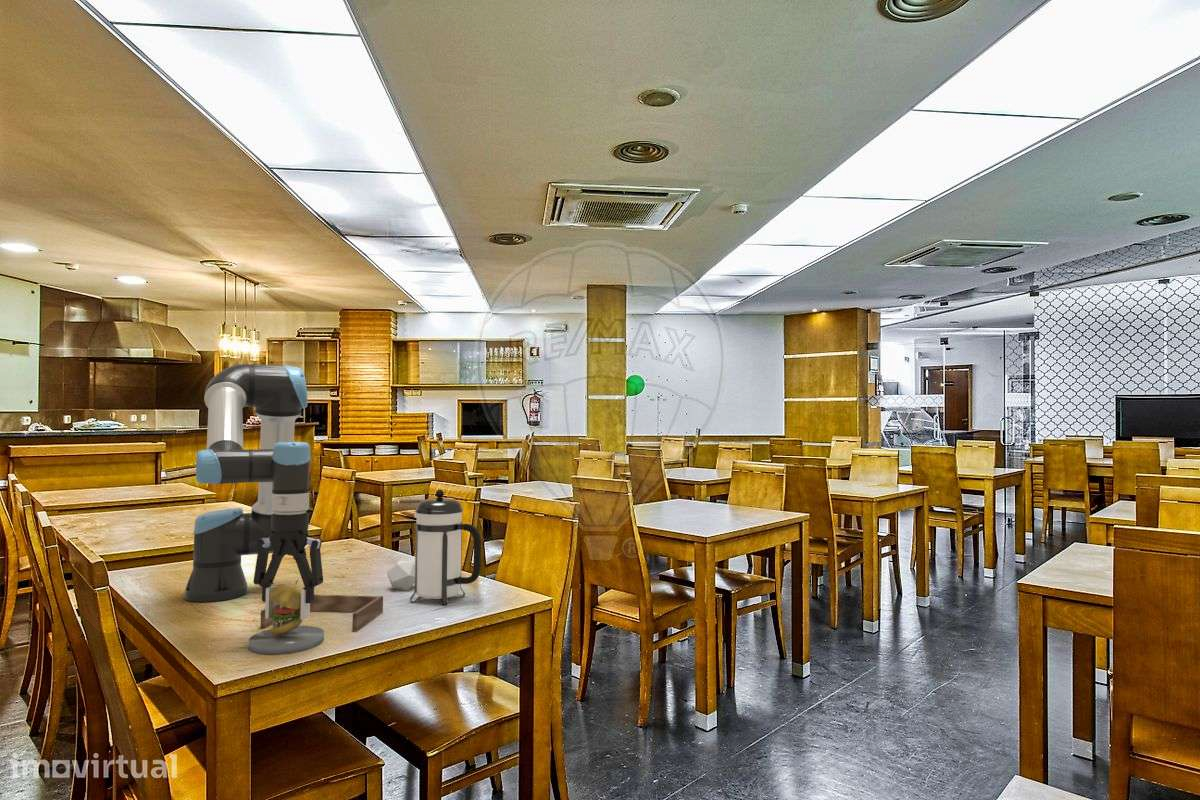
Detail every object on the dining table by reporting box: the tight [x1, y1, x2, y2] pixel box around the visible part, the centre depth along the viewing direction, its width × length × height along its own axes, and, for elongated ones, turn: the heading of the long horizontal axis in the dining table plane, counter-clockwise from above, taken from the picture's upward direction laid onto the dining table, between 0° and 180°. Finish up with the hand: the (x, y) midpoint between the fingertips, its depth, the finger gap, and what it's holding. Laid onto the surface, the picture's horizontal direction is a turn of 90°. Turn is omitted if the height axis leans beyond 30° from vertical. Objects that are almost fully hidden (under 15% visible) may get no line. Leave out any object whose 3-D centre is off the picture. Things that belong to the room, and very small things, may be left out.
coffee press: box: [409, 489, 482, 607], centre depth 187 cm, size 17×16×30 cm
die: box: [386, 560, 415, 591], centre depth 198 cm, size 8×9×10 cm
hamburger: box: [270, 579, 303, 635], centre depth 149 cm, size 8×7×12 cm
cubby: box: [259, 593, 384, 632], centre depth 166 cm, size 23×16×4 cm
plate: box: [247, 625, 325, 655], centre depth 149 cm, size 15×15×2 cm
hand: (287, 617), depth 149 cm, fingers closed on hamburger, 7 cm apart
